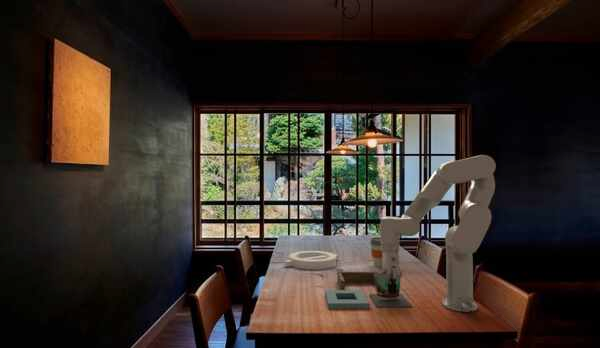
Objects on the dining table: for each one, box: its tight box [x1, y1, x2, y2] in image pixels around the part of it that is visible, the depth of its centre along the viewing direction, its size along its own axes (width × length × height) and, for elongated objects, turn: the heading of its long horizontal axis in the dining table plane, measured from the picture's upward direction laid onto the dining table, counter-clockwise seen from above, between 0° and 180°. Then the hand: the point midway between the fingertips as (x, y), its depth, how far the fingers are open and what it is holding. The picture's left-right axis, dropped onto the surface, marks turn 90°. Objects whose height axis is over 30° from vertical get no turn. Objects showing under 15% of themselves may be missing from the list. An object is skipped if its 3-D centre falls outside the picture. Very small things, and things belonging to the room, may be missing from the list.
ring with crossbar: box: [283, 250, 340, 270], centre depth 207 cm, size 28×28×5 cm
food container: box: [374, 269, 403, 298], centre depth 143 cm, size 12×6×10 cm, turn 104°
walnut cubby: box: [336, 271, 376, 290], centre depth 162 cm, size 16×19×5 cm
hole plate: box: [324, 289, 371, 309], centre depth 143 cm, size 16×16×2 cm
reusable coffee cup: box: [370, 237, 383, 268], centre depth 202 cm, size 13×13×15 cm
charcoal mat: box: [369, 293, 413, 308], centre depth 143 cm, size 14×14×1 cm
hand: (390, 290), depth 143 cm, fingers closed on food container, 5 cm apart
